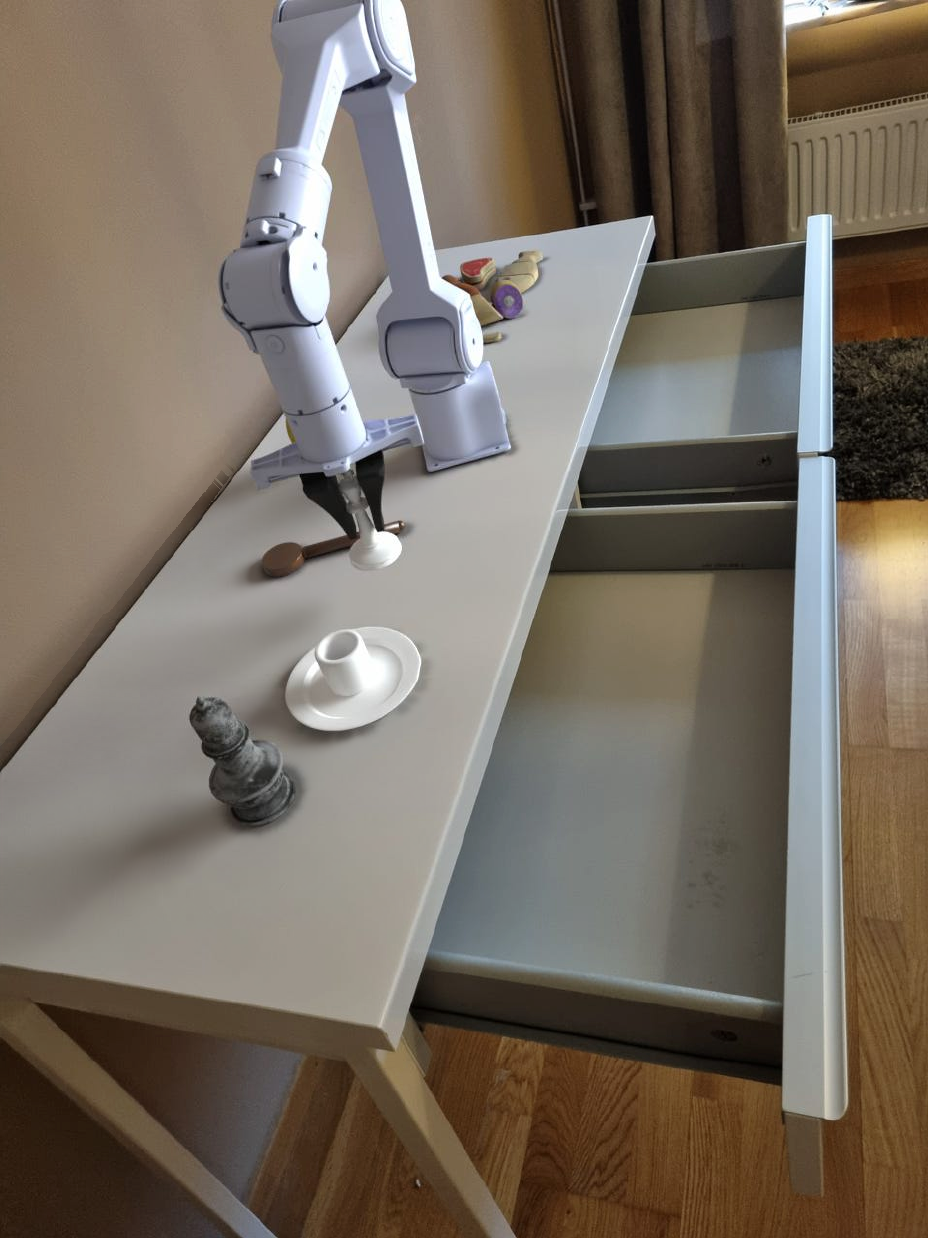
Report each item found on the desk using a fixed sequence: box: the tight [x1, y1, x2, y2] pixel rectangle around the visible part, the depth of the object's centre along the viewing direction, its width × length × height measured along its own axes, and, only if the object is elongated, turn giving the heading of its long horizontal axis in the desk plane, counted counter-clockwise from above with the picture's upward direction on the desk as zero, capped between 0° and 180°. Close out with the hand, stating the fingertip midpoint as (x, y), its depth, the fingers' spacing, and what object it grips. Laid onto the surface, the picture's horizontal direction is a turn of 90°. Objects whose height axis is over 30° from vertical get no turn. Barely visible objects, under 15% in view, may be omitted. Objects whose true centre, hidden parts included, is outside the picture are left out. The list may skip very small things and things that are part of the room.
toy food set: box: [441, 250, 544, 344], centre depth 127 cm, size 26×16×4 cm, turn 168°
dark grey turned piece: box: [188, 696, 296, 828], centre depth 65 cm, size 6×6×12 cm
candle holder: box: [284, 626, 422, 732], centre depth 75 cm, size 12×12×4 cm
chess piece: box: [337, 468, 403, 572], centre depth 78 cm, size 5×5×10 cm
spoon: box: [261, 519, 406, 578], centre depth 91 cm, size 15×4×1 cm, turn 98°
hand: (366, 529), depth 80 cm, fingers closed on chess piece
